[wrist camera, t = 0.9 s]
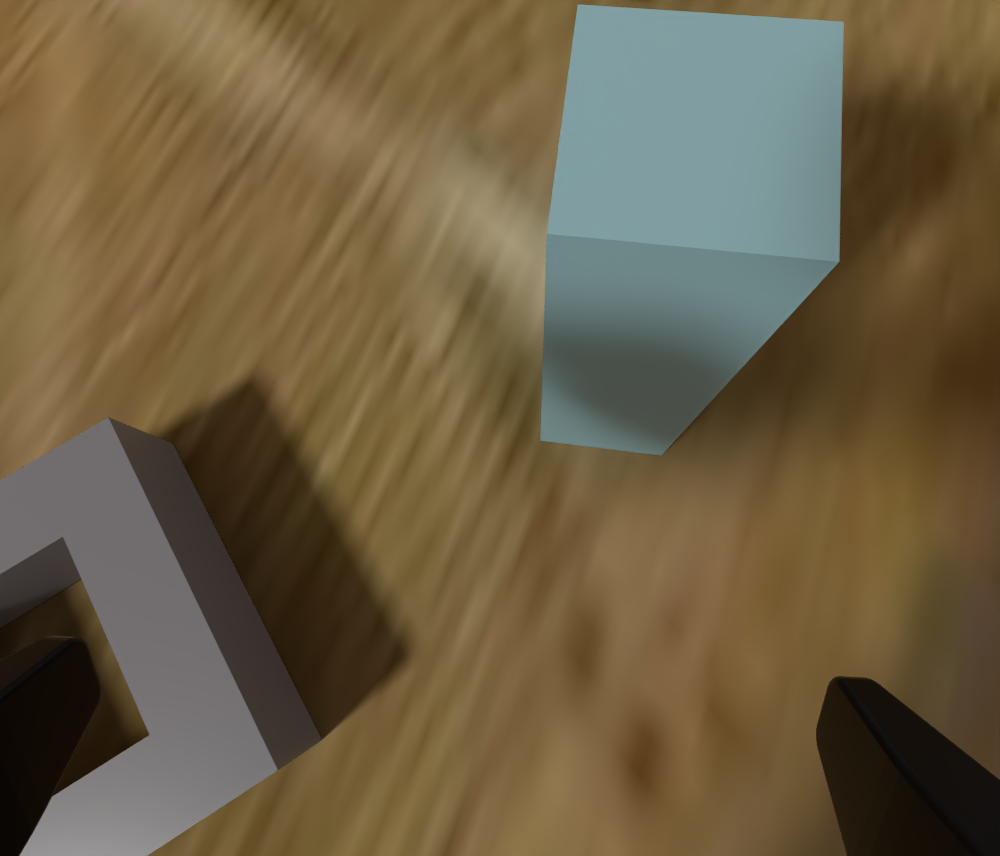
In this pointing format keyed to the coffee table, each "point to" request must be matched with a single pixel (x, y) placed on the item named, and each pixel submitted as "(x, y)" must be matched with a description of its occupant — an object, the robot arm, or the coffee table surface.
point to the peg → (683, 212)
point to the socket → (149, 638)
